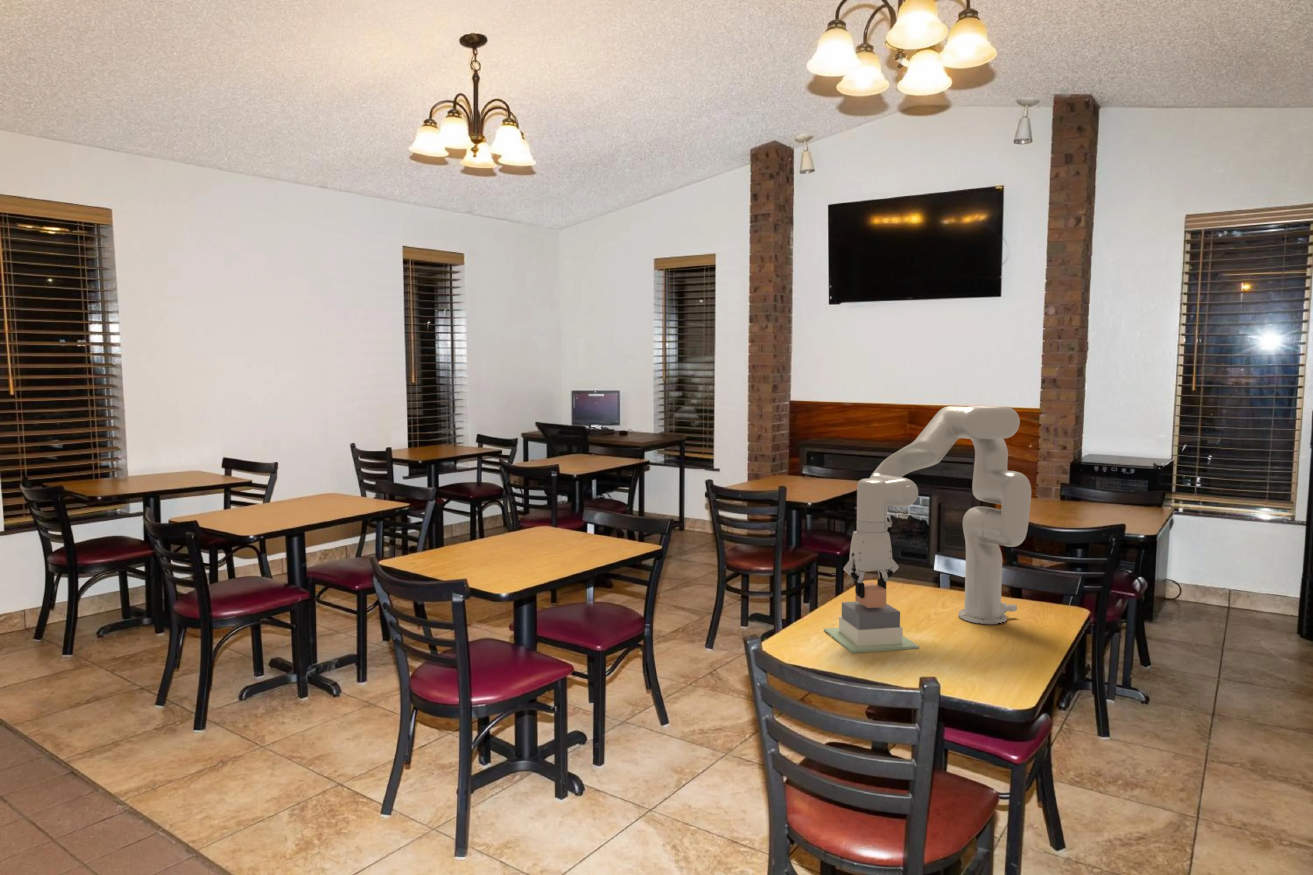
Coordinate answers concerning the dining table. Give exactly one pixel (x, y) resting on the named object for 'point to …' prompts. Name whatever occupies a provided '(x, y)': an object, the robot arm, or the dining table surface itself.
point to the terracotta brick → (873, 596)
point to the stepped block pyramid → (870, 629)
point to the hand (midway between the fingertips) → (870, 595)
